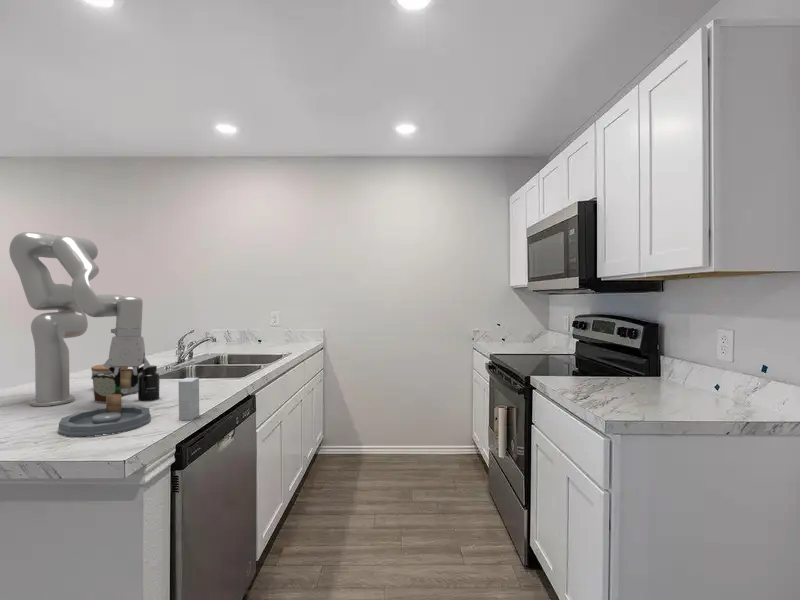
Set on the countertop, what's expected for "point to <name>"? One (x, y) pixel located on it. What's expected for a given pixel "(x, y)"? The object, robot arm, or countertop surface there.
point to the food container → (104, 385)
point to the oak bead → (125, 378)
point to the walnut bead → (113, 403)
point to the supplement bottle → (148, 384)
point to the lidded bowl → (102, 369)
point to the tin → (130, 389)
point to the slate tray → (92, 429)
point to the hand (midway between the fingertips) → (126, 385)
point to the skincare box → (188, 398)
